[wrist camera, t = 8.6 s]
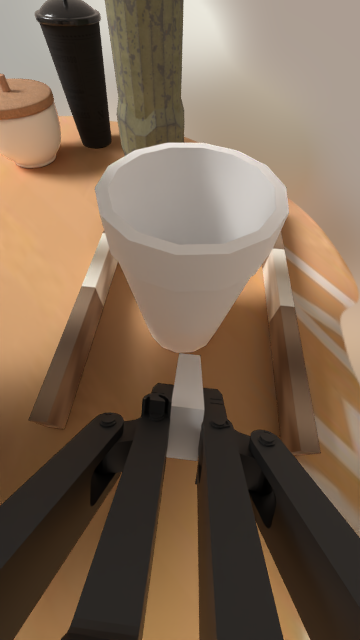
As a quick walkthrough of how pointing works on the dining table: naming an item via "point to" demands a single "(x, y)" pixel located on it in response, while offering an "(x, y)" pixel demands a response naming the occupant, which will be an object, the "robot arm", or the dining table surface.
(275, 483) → the robot arm
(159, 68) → the thermos
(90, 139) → the drinking cup
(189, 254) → the foam cup
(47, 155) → the lidded jar
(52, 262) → the dining table surface
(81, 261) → the dining table surface
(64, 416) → the lane
